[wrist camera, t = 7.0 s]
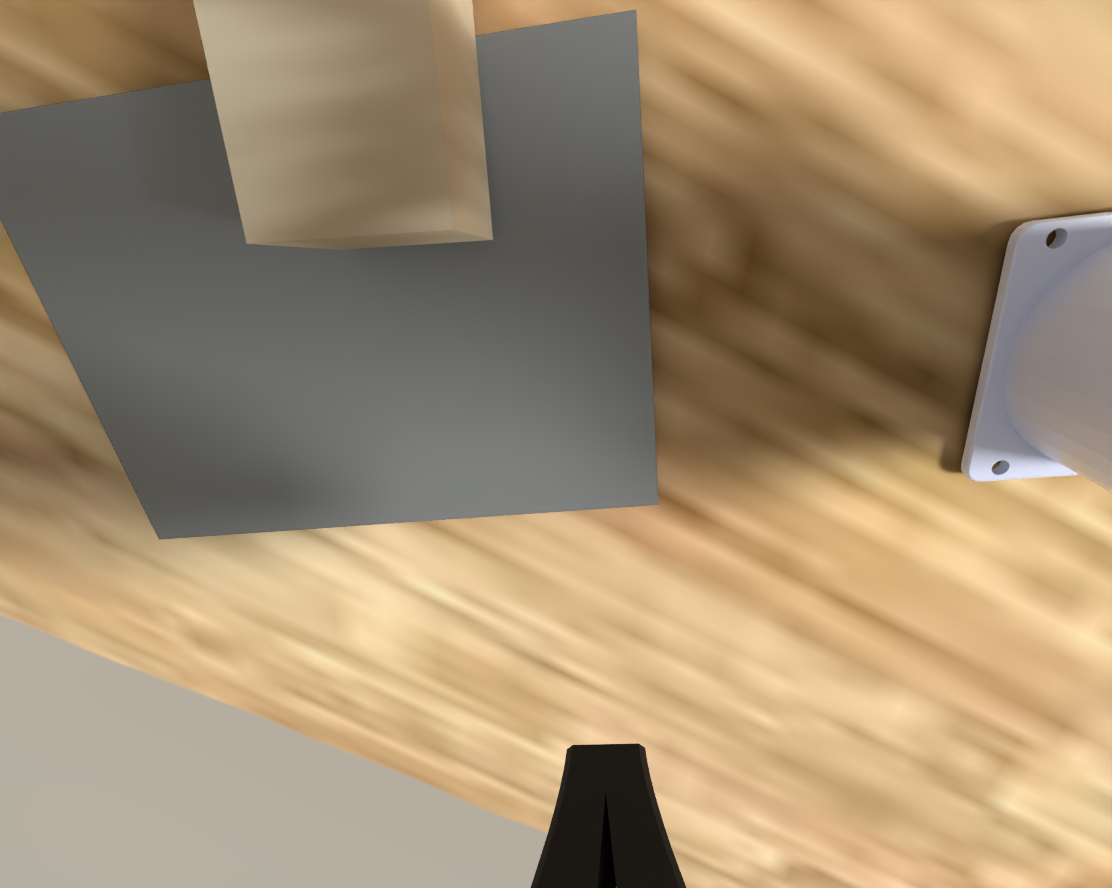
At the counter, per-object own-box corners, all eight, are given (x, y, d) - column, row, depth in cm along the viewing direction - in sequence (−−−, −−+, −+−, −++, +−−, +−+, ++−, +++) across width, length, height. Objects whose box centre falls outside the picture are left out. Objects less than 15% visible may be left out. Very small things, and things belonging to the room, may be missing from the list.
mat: (634, 17, 14) (636, 9, 13) (656, 496, 19) (658, 504, 19) (-26, 123, 16) (-49, 120, 15) (170, 530, 21) (159, 539, 21)
